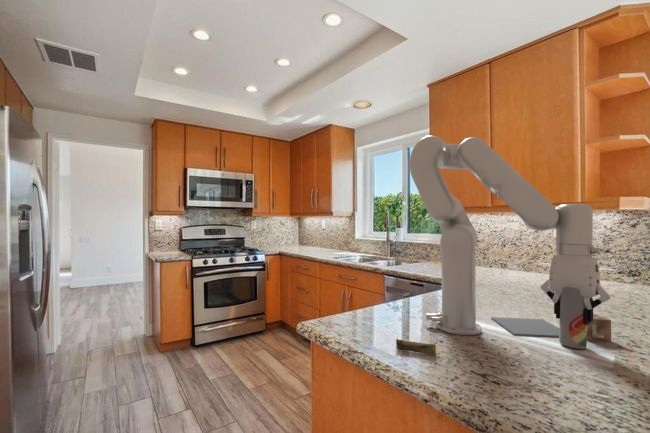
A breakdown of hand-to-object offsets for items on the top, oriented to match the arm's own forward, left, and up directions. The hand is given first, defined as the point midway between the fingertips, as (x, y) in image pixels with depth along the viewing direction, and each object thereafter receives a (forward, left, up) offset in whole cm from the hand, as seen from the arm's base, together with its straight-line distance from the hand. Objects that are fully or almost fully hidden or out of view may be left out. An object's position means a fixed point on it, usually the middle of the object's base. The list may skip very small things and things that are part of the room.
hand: (572, 320), depth 84 cm
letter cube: (+9, +8, -7) cm, 14 cm away
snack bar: (-42, -10, -7) cm, 43 cm away
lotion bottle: (0, 0, -7) cm, 7 cm away
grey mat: (-4, +15, -7) cm, 17 cm away
